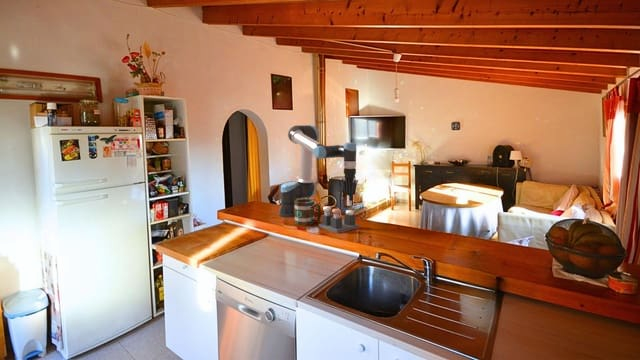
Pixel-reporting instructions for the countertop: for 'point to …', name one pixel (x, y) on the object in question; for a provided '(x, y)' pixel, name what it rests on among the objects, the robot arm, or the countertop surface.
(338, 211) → the terracotta knob
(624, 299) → the countertop surface
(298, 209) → the mug
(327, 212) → the cream knob near
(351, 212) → the cream knob left
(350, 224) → the knob mount
